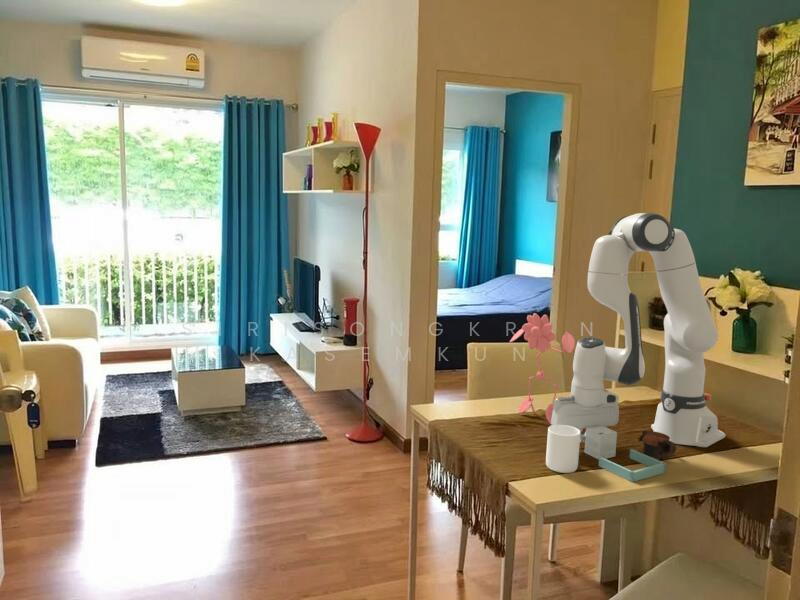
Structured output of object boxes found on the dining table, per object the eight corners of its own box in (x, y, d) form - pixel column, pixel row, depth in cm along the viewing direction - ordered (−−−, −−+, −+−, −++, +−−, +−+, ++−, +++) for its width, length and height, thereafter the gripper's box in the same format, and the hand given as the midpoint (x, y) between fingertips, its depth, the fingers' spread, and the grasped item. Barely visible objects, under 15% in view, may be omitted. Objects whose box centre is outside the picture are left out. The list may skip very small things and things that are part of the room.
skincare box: (599, 449, 185) (601, 424, 184) (615, 457, 180) (618, 431, 178) (583, 452, 182) (585, 427, 181) (599, 460, 177) (601, 434, 176)
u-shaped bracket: (631, 457, 179) (632, 449, 179) (665, 472, 170) (666, 463, 170) (598, 466, 173) (599, 457, 172) (632, 481, 163) (632, 472, 163)
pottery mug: (627, 456, 182) (632, 427, 184) (648, 465, 186) (653, 438, 188) (664, 460, 172) (669, 430, 174) (685, 470, 176) (690, 441, 178)
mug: (562, 454, 180) (565, 419, 178) (589, 463, 174) (593, 427, 173) (539, 466, 171) (542, 429, 169) (567, 476, 165) (570, 438, 164)
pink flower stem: (516, 405, 222) (521, 305, 216) (579, 427, 202) (587, 318, 196) (485, 414, 212) (489, 309, 206) (548, 438, 193) (555, 323, 187)
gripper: (560, 400, 178) (556, 448, 180) (623, 396, 184) (619, 442, 186) (548, 393, 184) (545, 440, 186) (610, 390, 190) (606, 435, 192)
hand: (583, 441), depth 186 cm, fingers closed
